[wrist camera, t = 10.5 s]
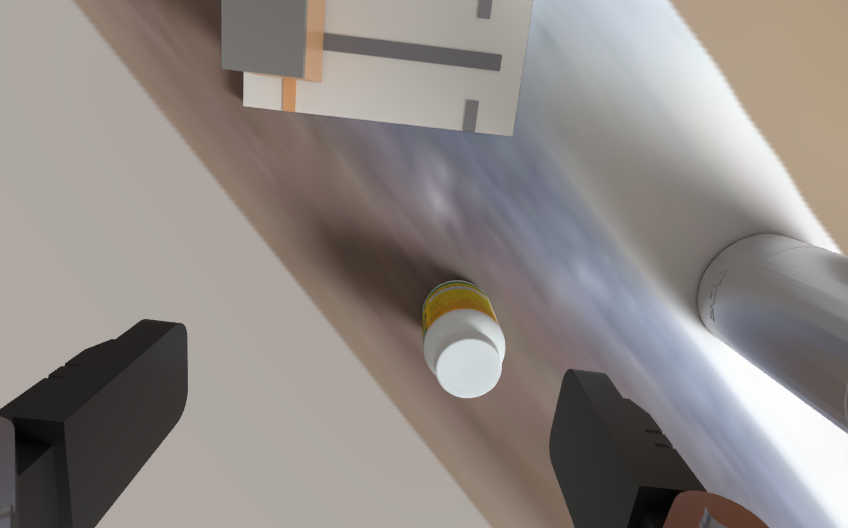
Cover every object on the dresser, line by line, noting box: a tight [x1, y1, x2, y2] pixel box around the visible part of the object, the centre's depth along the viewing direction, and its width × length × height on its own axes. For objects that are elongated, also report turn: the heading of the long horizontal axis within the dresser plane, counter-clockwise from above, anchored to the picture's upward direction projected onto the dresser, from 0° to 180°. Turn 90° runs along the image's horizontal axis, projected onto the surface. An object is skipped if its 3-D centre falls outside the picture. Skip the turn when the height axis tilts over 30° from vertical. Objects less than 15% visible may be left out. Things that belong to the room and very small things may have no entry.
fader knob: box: [221, 0, 325, 83], centre depth 29 cm, size 4×5×6 cm
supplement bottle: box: [422, 280, 505, 398], centre depth 35 cm, size 5×5×10 cm
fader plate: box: [243, 0, 534, 137], centre depth 33 cm, size 18×9×2 cm, turn 84°
